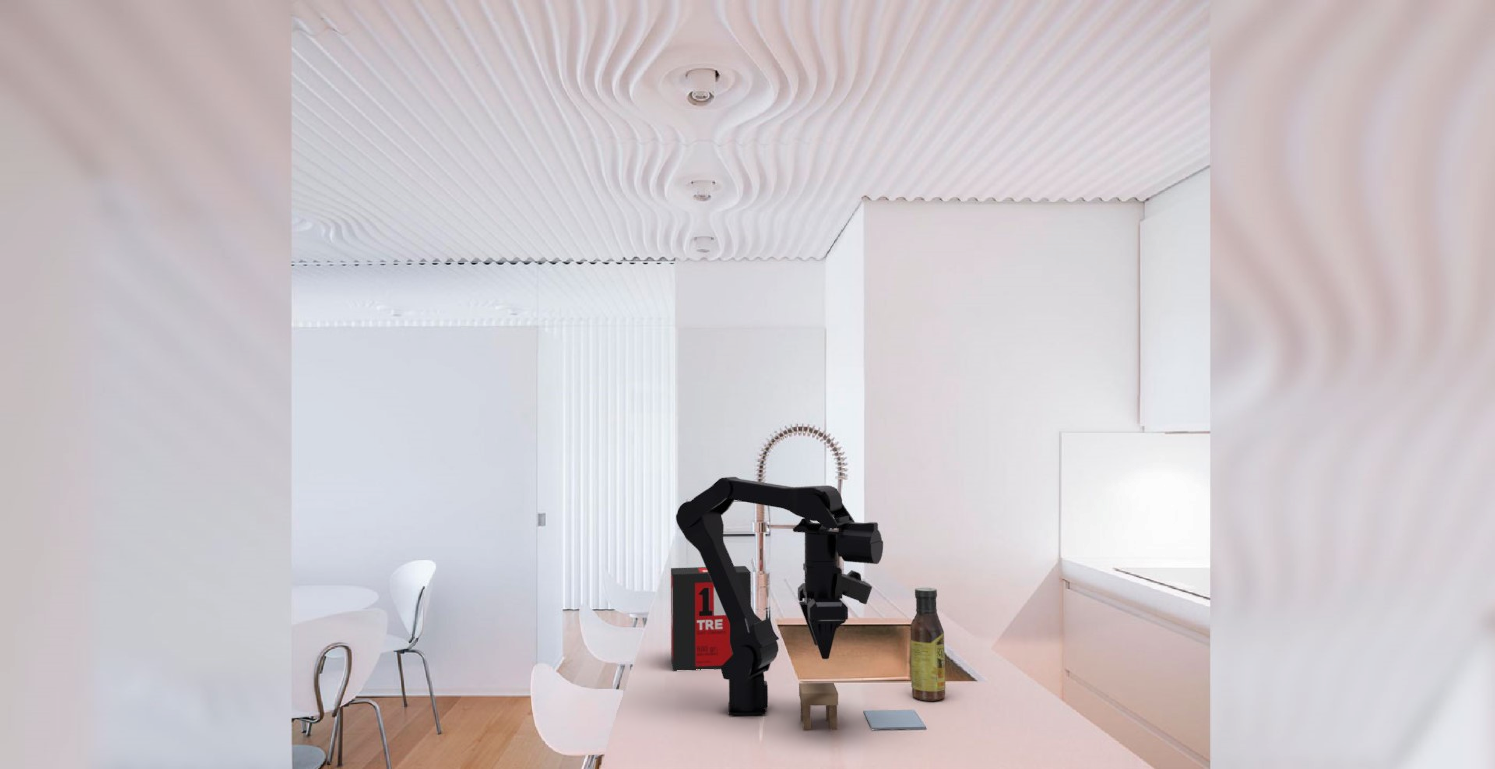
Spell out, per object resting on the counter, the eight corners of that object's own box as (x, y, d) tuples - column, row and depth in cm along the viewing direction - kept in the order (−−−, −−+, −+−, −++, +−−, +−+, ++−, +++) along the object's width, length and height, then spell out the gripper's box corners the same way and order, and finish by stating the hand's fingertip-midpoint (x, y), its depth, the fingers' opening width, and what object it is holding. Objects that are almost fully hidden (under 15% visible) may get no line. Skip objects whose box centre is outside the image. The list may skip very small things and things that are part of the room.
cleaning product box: (673, 671, 180) (672, 574, 181) (671, 660, 189) (670, 568, 190) (751, 667, 182) (750, 572, 184) (746, 657, 191) (745, 566, 192)
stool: (802, 730, 143) (802, 693, 144) (799, 718, 149) (799, 683, 150) (838, 729, 143) (838, 693, 144) (834, 718, 149) (833, 682, 150)
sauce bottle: (946, 703, 157) (943, 592, 158) (911, 701, 158) (908, 591, 159) (945, 693, 163) (942, 586, 164) (911, 691, 165) (909, 585, 166)
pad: (872, 730, 143) (872, 727, 143) (863, 713, 152) (863, 710, 152) (926, 729, 143) (926, 726, 143) (914, 712, 152) (914, 709, 152)
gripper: (878, 568, 139) (879, 666, 139) (857, 551, 158) (858, 638, 157) (810, 568, 139) (810, 667, 138) (797, 552, 157) (797, 638, 157)
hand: (821, 651), depth 147 cm, fingers open, 9 cm apart
